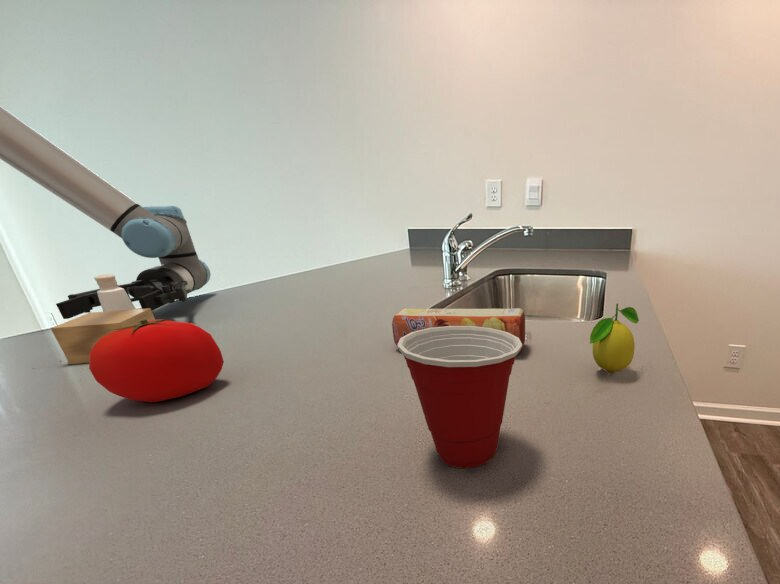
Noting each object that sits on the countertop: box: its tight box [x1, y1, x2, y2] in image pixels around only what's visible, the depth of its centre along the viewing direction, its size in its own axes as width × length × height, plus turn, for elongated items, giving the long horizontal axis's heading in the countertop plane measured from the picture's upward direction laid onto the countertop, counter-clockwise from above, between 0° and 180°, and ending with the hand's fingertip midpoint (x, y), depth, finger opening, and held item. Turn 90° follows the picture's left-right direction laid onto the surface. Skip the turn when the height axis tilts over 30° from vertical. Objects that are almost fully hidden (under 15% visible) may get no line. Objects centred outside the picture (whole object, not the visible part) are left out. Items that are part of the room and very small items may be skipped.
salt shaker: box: [93, 273, 136, 312], centre depth 75 cm, size 5×5×11 cm
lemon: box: [589, 303, 640, 375], centre depth 55 cm, size 7×6×10 cm
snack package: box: [391, 307, 526, 354], centre depth 65 cm, size 21×7×7 cm, turn 79°
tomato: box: [88, 317, 225, 403], centre depth 52 cm, size 11×13×10 cm
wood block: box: [50, 308, 156, 365], centre depth 68 cm, size 9×9×6 cm
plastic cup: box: [396, 326, 523, 469], centre depth 38 cm, size 11×11×12 cm
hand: (103, 308), depth 72 cm, fingers open, 11 cm apart
